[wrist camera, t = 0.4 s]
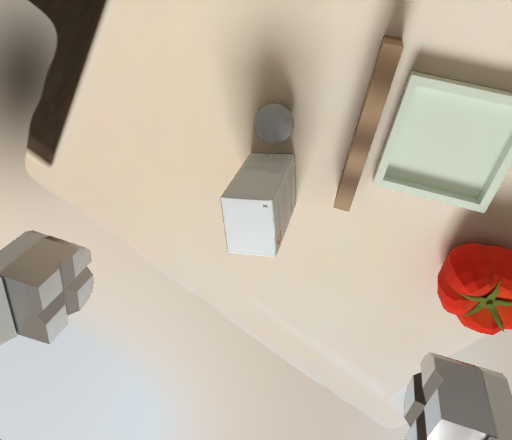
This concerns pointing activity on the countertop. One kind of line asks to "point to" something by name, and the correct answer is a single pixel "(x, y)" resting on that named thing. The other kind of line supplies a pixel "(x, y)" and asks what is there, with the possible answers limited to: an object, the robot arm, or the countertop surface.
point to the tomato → (478, 286)
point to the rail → (368, 120)
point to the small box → (259, 204)
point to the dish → (448, 142)
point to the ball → (273, 123)
